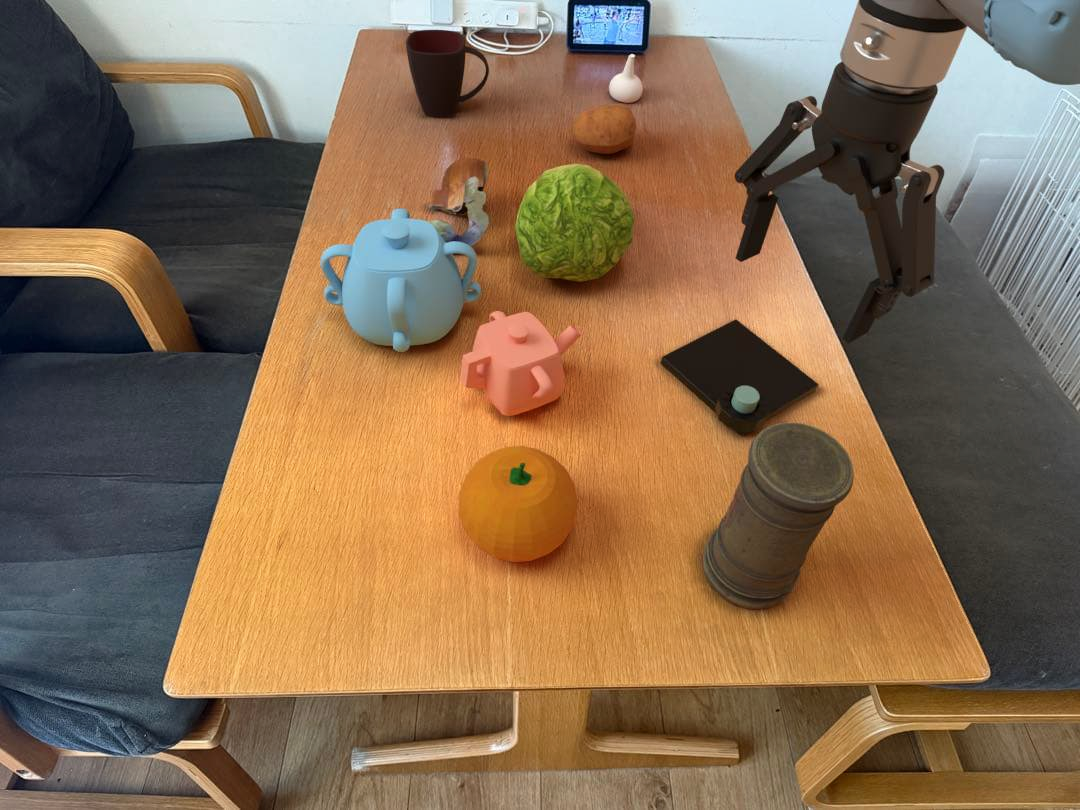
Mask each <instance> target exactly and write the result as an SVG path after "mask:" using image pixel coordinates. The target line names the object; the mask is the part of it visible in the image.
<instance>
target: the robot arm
mask: <svg viewBox="0 0 1080 810" xmlns="http://www.w3.org/2000/svg"><path fill="white" fill-rule="evenodd" d="M968 28H969V29H970V30H971V31H972V32H973V33H975V34H976V35H977V36H979V38H981V39H982V40H984V42H986V43H987V44H988V45H989V46H990V47H992V48H993V51H994V52H995V53H997V54H999V55H1000V57H1001V58H1002V59H1003V60H1004V61H1008V62H1010V63H1011V64H1012V65H1013V66H1014V67H1015V68H1019V69H1021V70H1025V71H1026V72H1028V73H1030V74H1031V75H1034V76H1035V77H1037V78H1038V79H1040V80H1042V81H1044V82H1046V83H1048V84H1049V83H1050V84H1053V85H1059V86H1076V85H1080V0H858V1H857V4H856V6H855V9H854V12H853V15H852V17H851V21H850V24H849V27H848V29H847V33H846V35H845V37H844V40H843V41H844V42H843V44H842V47H841V49H840V52H839V57H840V62H838V63H837V64H836V65H835V67H834V68H833V71H832V75H831V78H830V80H829V83H828V85H827V89H826V91H825V94H824V97H823V100H822V103H821V109H820V108H818V107H817V106H818V100H817V98H816V97H815V96H814V95H809V96H806V97H804V98H800V99H797V100H795V101H792V102H789V103H788V104H787V105H786V107H785V109H784V112H783V114H782V117H781V118H780V121H779V123H778V125H777V126H776V127H775V128H774V129H773V130H772V132H770V134H769V135H768V136H767V137H766V138H765V139H764V140H763V141H762V142H761V144H760V145H759V146H758V147H757V148H755V150H754V151H753V152H752V153H751V154H750V156H749V157H748V158H746V160H745V161H744V162H743V163H742V165H740V166H739V168H738V169H737V170H736V171H735V172H734V181H735V182H736V183H737V184H743V186H744V187H745V188H746V195H747V198H746V201H745V205H744V208H743V210H742V214H741V224H742V225H744V230H743V232H742V236H741V239H740V242H739V245H738V248H737V252H736V255H735V259H736V260H737V261H738V262H740V263H742V262H744V261H747V260H749V259H751V258H753V257H756V256H758V255H759V254H761V251H762V248H763V245H764V243H765V240H766V237H767V234H768V230H769V227H770V226H771V225H770V224H771V221H772V218H773V216H774V212H775V210H776V208H777V207H776V206H777V205H778V204H777V203H778V201H779V197H778V195H775V194H774V193H771V194H770V192H773V191H776V190H777V189H778V188H781V187H782V186H784V185H786V184H788V183H790V182H792V181H794V180H796V179H798V178H801V177H802V176H804V175H806V174H807V173H810V172H811V171H813V170H815V169H817V168H818V170H819V172H820V174H821V177H820V178H821V179H822V180H824V181H825V182H827V183H830V184H833V185H836V186H837V187H838V188H839V189H840V190H841V191H842V192H843V193H845V194H847V195H848V196H850V197H851V196H853V195H855V200H856V204H857V208H858V210H859V211H860V212H862V213H863V215H864V218H865V223H866V228H867V232H868V236H869V237H868V238H869V240H870V245H871V249H872V254H873V257H874V262H875V266H876V271H877V275H878V277H876V278H875V279H873V280H871V281H869V283H868V285H867V287H866V288H865V291H864V293H863V296H862V297H861V299H860V301H859V303H858V305H857V306H856V307H857V308H856V309H855V312H854V314H853V316H852V318H851V319H850V322H849V323H848V326H847V327H846V330H845V332H844V334H843V336H842V338H841V339H842V340H843V341H845V342H846V343H847V344H850V343H852V342H854V341H855V340H857V339H859V338H861V337H862V336H863V337H864V335H866V334H868V333H869V332H870V329H871V328H872V325H873V324H874V322H875V320H878V319H879V318H881V317H883V316H884V315H887V314H888V313H890V312H891V311H892V310H893V308H894V306H895V305H896V303H897V301H898V300H899V297H900V295H901V293H902V294H903V295H904V296H906V297H908V298H911V297H914V296H916V295H918V294H920V293H921V292H923V291H925V290H926V289H928V288H930V287H931V286H933V285H934V282H935V255H936V254H935V253H936V218H937V217H936V215H937V195H938V192H939V189H940V187H941V185H942V182H943V179H944V177H945V168H944V167H943V166H942V165H940V164H933V165H931V166H929V167H927V166H925V165H923V164H920V163H917V162H915V161H912V160H911V149H912V146H913V144H914V141H915V139H917V136H918V135H919V133H920V131H921V130H922V127H923V125H924V122H925V120H926V118H927V116H928V114H929V112H930V110H931V108H932V105H933V103H934V101H935V99H936V97H937V95H938V92H939V87H938V84H939V83H941V82H943V81H944V80H945V78H946V76H947V74H948V72H949V70H950V67H951V65H952V62H953V60H954V58H955V56H956V54H957V52H958V50H959V47H960V45H961V43H962V40H963V38H964V36H965V33H966V31H967V29H968ZM810 128H811V135H812V136H811V137H812V141H813V147H814V149H813V150H812V151H810V152H808V153H806V154H804V155H802V156H801V157H799V158H797V159H796V160H794V161H792V162H791V163H789V164H787V165H785V166H783V167H782V168H780V169H778V170H776V171H774V172H772V173H771V174H768V175H767V176H764V173H765V172H766V171H767V169H768V168H769V167H771V165H772V164H773V163H774V162H775V161H776V160H777V159H778V158H779V157H780V156H781V155H782V154H783V153H784V152H785V151H786V149H788V147H790V146H791V145H792V144H793V142H794V141H795V140H797V138H798V137H799V136H800V135H801V134H802V133H803V132H804V131H805V130H808V129H810ZM897 177H899V178H900V179H901V182H902V186H901V187H900V193H901V194H903V195H904V196H903V199H902V206H901V208H902V209H901V219H900V214H899V209H898V205H897V199H898V196H899V191H898V186H897V181H896V178H897ZM877 188H878V189H879V191H878V193H877V194H875V195H874V192H873V190H875V189H877Z"/></svg>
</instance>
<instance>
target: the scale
mask: <svg viewBox="0 0 1080 810" xmlns="http://www.w3.org/2000/svg"><path fill="white" fill-rule="evenodd" d="M660 365H662V366H663V367H664V368H665V369H666V370H667V371H668V372H669V373H671V374H672V375H673V377H675V378H676V379H677V380H678V381H679V382H680V383H682V385H684V386H685V387H686V388H687V389H688V390H689V391H690V392H692V393H693V394H694V395H695V396H696V397H697V398H698V399H699V400H700V401H701V402H702V403H703V404H705V405H706V406H707V407H708V408H710V409H711V410H712V412H714V413H715V414H716V417H717V419H718V420H719V422H721V423H722V424H723V425H724V426H726V428H729V429H730V430H733V431H735V432H736V433H737V434H738V435H739V436H740V437H741V436H744V435H745V434H747V433H749V432H755V431H757V430H758V429H760V428H761V427H763V426H764V425H765V423H766V421H768V420H770V419H772V418H773V417H775V416H777V415H778V414H779V413H781V412H783V411H785V410H787V409H789V408H790V407H791V406H793V405H794V404H797V403H798V402H800V401H801V400H803V399H805V398H806V397H808V396H809V395H812V394H813V393H814V392H816V391H817V389H818V386H819V383H817V382H816V381H815V380H814V379H812V378H811V377H810V376H809V375H807V374H806V373H805V372H804V371H803V370H801V369H800V368H799V367H798V366H796V365H795V364H793V362H791V361H790V360H789V359H788V358H786V357H785V356H783V354H781V353H780V352H779V351H777V350H776V349H775V348H773V347H772V346H771V345H770V344H768V343H767V342H766V341H764V340H763V339H762V338H760V336H758V335H757V334H756V333H755V332H753V331H752V330H750V329H749V328H748V327H747V326H745V325H744V324H743V323H742V322H740V321H739V320H738V319H737V318H736V319H732V320H731V321H730V322H727V323H726V324H724V325H721V326H720V327H717V328H715V329H713V330H712V331H710V332H708V333H706V334H704V335H701V336H700V337H698V338H696V339H693V340H692V341H690V342H687V343H686V344H685V345H684V344H683V346H680V347H678V348H677V349H674V350H673V351H670V352H669V353H667V354H665V355H663V356H662V357H661V359H660ZM739 386H750V387H753V388H754V389H756V390H757V391H758V393H759V395H760V398H759V401H758V404H757V406H756V409H755V410H754V411H753V412H752V413H748V414H744V413H740V412H738V411H736V410H735V409H734V408H733V406H732V404H731V401H732V398H733V395H734V392H735V390H736V388H738V387H739Z"/></svg>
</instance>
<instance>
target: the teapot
mask: <svg viewBox="0 0 1080 810" xmlns="http://www.w3.org/2000/svg"><path fill="white" fill-rule="evenodd" d="M488 318H489V320H488V321H489V322H486V323H483V324H481V325H479V327H478V329H477V332H476V335H475V338H474V342H473V346H472V351H470V352H467V353H465V354H462V359H461V368H460V375H459V376H460V377H459V378H460V382H461V383H462V384H463V386H464V387H465V388H466V389H475V390H482V391H483V392H484V394H485V395H486V397H487V398H488V399H489V401H490V402H491V403H492V404H493V406H495V408H496V409H497V410H498V411H499V412H500V413H501V415H503V416H506V417H507V416H508V417H511V416H512V417H513V416H516V415H519V414H523V413H526V412H528V411H531V410H535V409H537V408H539V407H542V406H545V405H547V404H549V403H552V402H554V401H556V400H558V399H559V397H560V396H561V395H562V393H563V391H564V388H565V372H564V365H563V361H562V357H561V356H563V354H565V352H567V350H568V349H569V348H570V347H571V346H572V345H574V344H575V343H576V341H578V340H579V338H580V337H582V335H583V334H582V332H581V331H580V330H579V329H578V328H577V327H576V326H574V324H572V323H571V324H569V325H568V326H567V327H566V328H565V329H564V330H563V331H562V333H560V334H559V335H558V336H557V337H556V338H555V339H554V338H553V336H552V335H551V334H550V332H549V331H548V330H547V328H546V327H545V326H544V324H542V322H540V320H539V319H538V318H537V317H536V316H535V315H534V314H532V313H531V312H529V311H522V312H518V313H515V314H510V315H506V314H505V313H504V312H503V311H501V310H496V311H493V312H491V313H490V314H489V317H488Z"/></svg>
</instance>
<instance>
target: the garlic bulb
mask: <svg viewBox="0 0 1080 810" xmlns="http://www.w3.org/2000/svg"><path fill="white" fill-rule="evenodd" d="M635 58H636V55H635V54H633V53H631V54H629V55H628V57H627V60H626V62H625V65H624V69H623V70H622V72H621V73H617V74H616V75H614V76H613V77H612V78H611V80H610V82H609V84H608V93H609V95H610V96H611V98H612V99H614V100H615V101H617V102H620V103H626V104H628V103H629V104H630V103H635V102H637V101H639V99H640V98H641V97H642V95H643V92H644V91H643V90H644V87H643V83H642V81H641V78H640V77H638V76H637V75H636V74H635Z"/></svg>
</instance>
